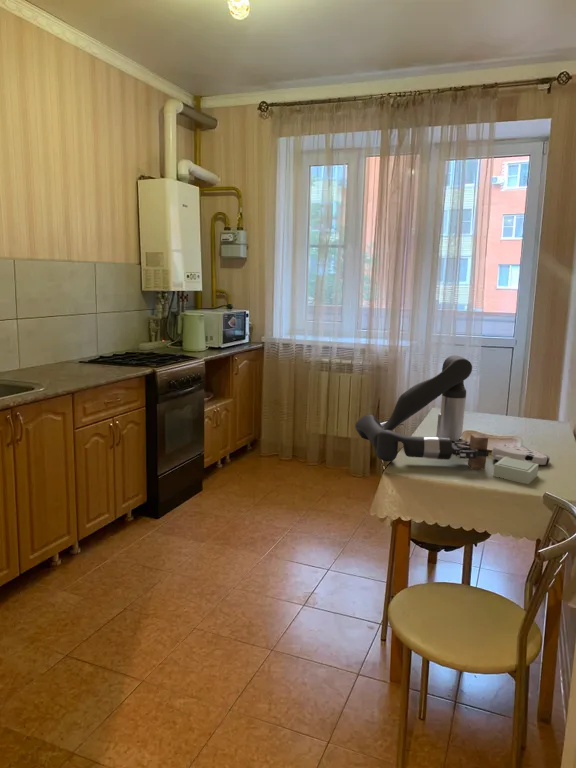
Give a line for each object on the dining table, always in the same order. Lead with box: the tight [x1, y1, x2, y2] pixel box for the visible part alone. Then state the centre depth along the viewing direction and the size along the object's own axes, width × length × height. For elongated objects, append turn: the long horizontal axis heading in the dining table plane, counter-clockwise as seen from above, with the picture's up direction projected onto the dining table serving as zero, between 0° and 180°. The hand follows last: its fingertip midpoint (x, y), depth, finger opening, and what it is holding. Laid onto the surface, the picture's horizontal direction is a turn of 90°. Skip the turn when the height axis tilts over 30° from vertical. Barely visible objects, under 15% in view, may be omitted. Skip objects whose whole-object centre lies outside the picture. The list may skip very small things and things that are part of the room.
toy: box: [491, 443, 551, 466], centre depth 203 cm, size 22×5×20 cm
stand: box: [492, 457, 539, 485], centre depth 187 cm, size 11×11×4 cm
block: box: [467, 433, 489, 470], centre depth 194 cm, size 4×4×11 cm
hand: (485, 450), depth 194 cm, fingers open, 5 cm apart
